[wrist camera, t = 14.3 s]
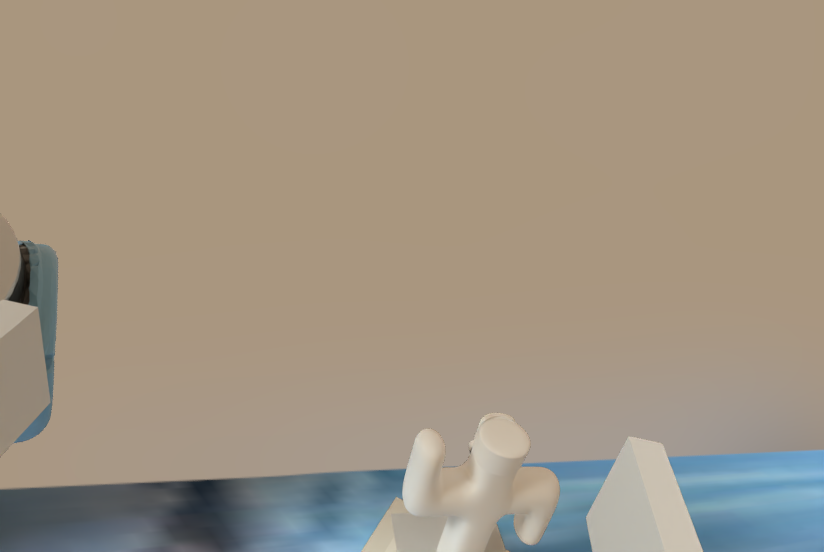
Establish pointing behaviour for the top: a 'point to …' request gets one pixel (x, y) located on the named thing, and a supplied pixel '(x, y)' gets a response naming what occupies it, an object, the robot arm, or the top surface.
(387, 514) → the plinth
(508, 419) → the figurine
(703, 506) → the top surface
